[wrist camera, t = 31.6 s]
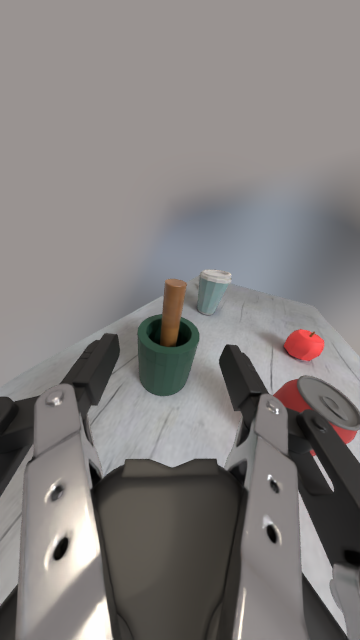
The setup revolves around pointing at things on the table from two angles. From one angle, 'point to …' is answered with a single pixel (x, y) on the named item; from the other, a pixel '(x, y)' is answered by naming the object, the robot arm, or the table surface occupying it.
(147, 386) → the green cup
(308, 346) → the apple
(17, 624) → the robot arm
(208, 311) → the disposable coffee cup
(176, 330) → the brown and grey cylinder
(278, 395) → the beer can
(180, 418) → the table surface
